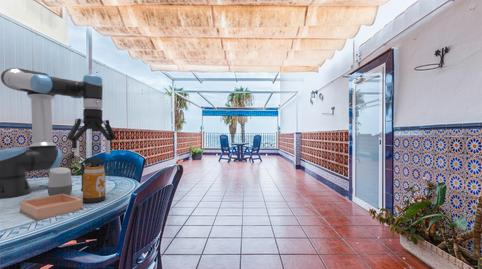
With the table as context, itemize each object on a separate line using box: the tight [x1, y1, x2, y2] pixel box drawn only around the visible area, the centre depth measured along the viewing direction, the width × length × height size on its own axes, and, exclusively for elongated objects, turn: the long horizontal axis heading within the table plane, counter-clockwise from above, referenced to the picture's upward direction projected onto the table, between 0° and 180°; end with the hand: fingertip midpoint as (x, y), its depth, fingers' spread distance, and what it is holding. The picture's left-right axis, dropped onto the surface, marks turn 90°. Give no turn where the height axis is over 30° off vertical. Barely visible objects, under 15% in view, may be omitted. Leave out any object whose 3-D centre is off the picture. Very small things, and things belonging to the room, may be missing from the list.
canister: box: [80, 156, 107, 204], centre depth 110 cm, size 9×11×20 cm
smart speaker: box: [47, 166, 73, 196], centre depth 116 cm, size 10×9×14 cm
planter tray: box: [19, 194, 84, 221], centre depth 96 cm, size 17×15×4 cm
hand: (93, 154), depth 110 cm, fingers open, 13 cm apart
